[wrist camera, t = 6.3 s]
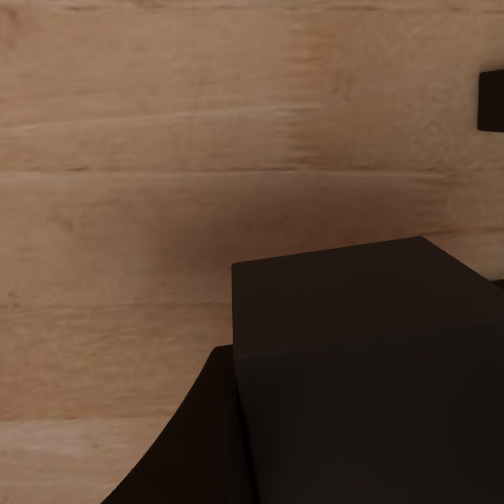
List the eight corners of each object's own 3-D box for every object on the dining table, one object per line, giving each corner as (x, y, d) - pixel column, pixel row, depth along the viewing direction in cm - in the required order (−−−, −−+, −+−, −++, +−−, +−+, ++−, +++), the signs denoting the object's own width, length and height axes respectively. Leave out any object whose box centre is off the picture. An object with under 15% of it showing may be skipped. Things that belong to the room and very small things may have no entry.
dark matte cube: (423, 395, 11) (521, 539, 8) (256, 420, 11) (270, 578, 8) (421, 234, 10) (541, 312, 6) (230, 262, 10) (232, 357, 6)
